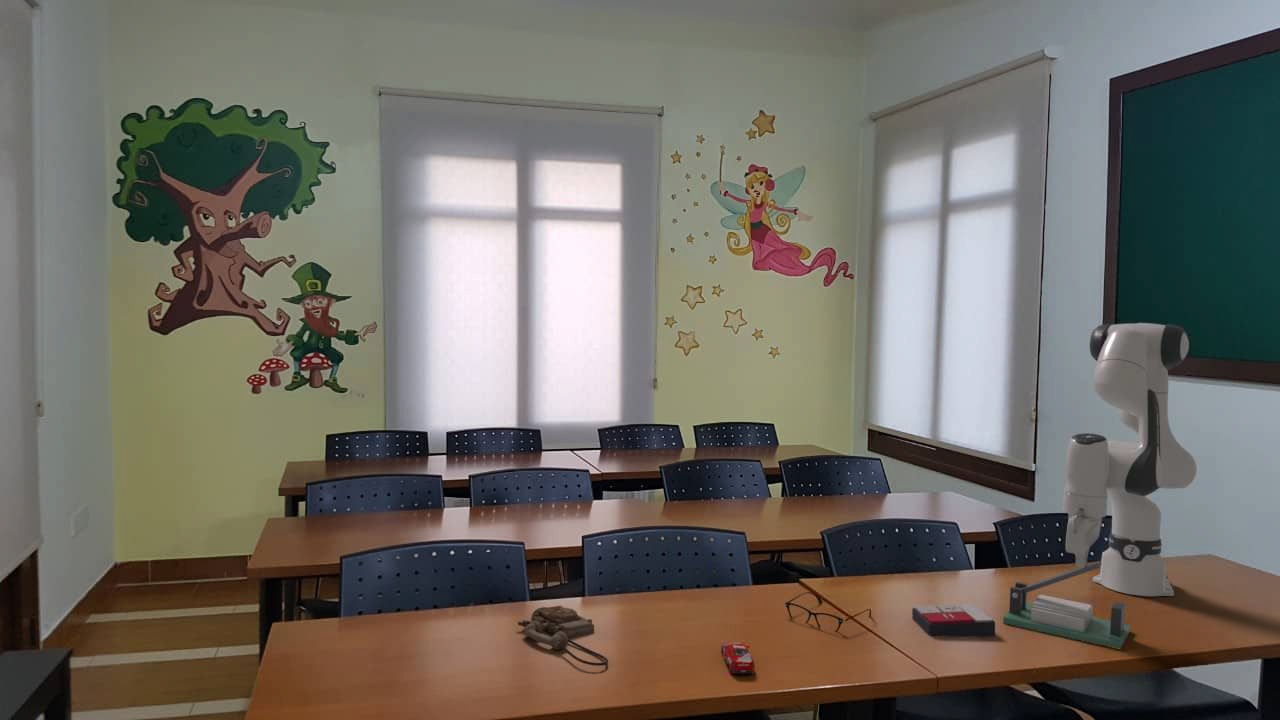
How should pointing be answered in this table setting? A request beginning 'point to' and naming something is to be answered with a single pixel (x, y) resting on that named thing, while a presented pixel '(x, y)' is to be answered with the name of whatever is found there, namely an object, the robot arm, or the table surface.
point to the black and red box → (953, 620)
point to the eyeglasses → (819, 613)
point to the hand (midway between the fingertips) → (1081, 565)
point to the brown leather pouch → (560, 629)
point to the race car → (738, 658)
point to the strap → (1061, 577)
